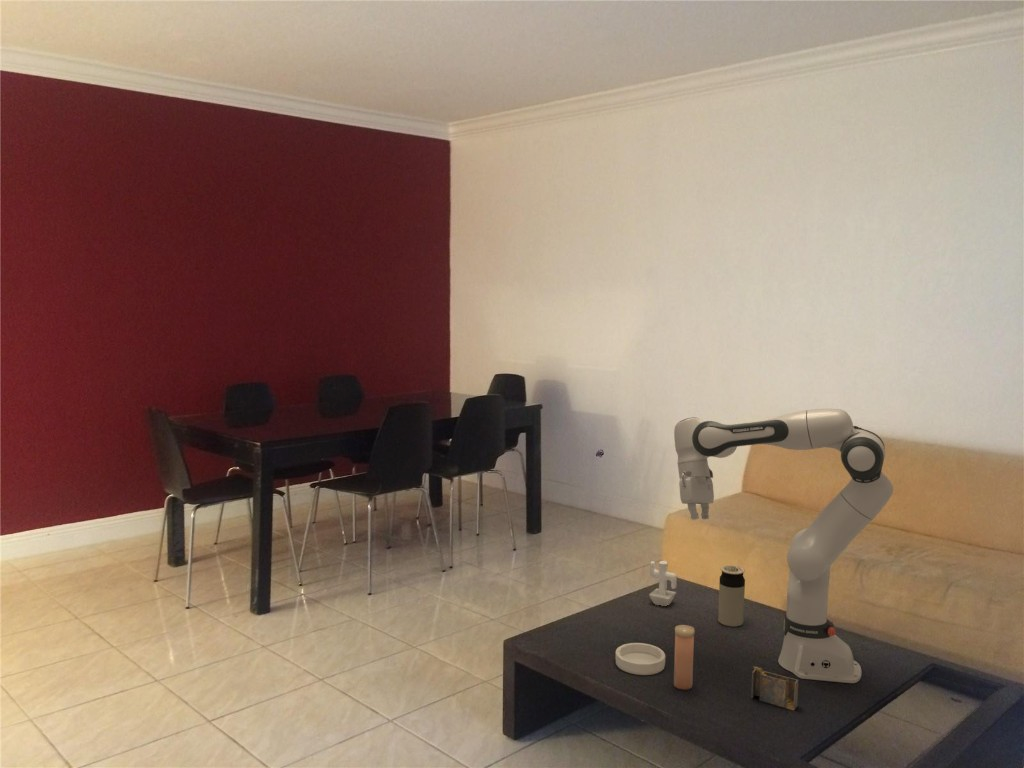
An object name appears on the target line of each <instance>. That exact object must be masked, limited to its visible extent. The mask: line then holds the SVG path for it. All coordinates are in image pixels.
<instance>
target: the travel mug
mask: <svg viewBox="0 0 1024 768" xmlns="http://www.w3.org/2000/svg"><path fill="white" fill-rule="evenodd" d="M720 570H721V575H720V576H719V583H718V584H719V586H718V587H719V588H718V612H717V613H718V615H717V616H718V618H717V621H718V623H720V624H722V625H723V626H727V627H733V628H736V627H739V626H742V625H743V624H744V618H745V617H744V615H745V614H744V613H745V612H744V610H745V594H746V593H745V590H746V589H745V588H746V579H745V577H744V573H745V569H744V568H743V567H741V566H739V565H738V566H736V565H728V564H727V565H723V566H721V567H720Z"/></svg>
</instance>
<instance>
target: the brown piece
mask: <svg viewBox="0 0 1024 768" xmlns="http://www.w3.org/2000/svg"><path fill="white" fill-rule="evenodd" d="M752 668H753V669H754V670H752V672H751V694H750V695H751V696H750V698H751V699H754V697H755V696H757V697H759V702H763V703H767V704H771V705H774V706H777V707H781V708H784V709H788V710H792V711H795V710H796V709H797V707H798V699H799V698H798V695H799V679H796V678H793V677H789V676H784V675H781V674H777V673H773V672H769V671H766V670H765V671H764V670H763V668H762V667H758V666H754V665H753V666H752Z"/></svg>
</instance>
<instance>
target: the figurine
mask: <svg viewBox="0 0 1024 768" xmlns="http://www.w3.org/2000/svg"><path fill="white" fill-rule="evenodd" d="M658 567H659V569H656V562H655V561H654V560H653V561H650V563H649V575H650V577H652V578H654V579H655V578H656V579H658V580H659V581H658V588H655V589H654V590H653V591H652V592H650V593H649V598H650V599H651V601H652V603H653V605H654V604H655V605H654V606H659V605H661V606H660V607H663V606H667V605H668V606H669V605H670V604H671V603H672V601H673V599H674V597H675V595H676V594H677V591H671V590H667V588H668V585H667V584H668V581H669V582H670V583H671V584H670V585H671V586H670V588H671V589H672V590H675V589H677V583H678V582H677V577H678V576H677V574H676V572H675V573H674V572H672V571H671V572H669V571H668V569H669V567H668V561H667V560H661V561H659V563H658ZM668 606H667V607H668Z"/></svg>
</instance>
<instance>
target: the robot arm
mask: <svg viewBox="0 0 1024 768" xmlns="http://www.w3.org/2000/svg"><path fill="white" fill-rule="evenodd" d="M673 431H674V432H673V433H674V434H673V435H674V447H675V452H676V455H677V468H678V477H679V483H678V485H679V495H680V496H679V497H680V501H681V503H682V504H684V505H685V504H687V508H688V511H689V513H690V518H691V520H698V519H699V512H698V511H697V505H700V508H701V514H700V516H701V519H702V520H708V519H709V518H710V516H709V510H710V505H711V504H713V503H714V500H715V499H714V498H715V494H714V483H713V480H712V479H713V478H714V472H713V471H712V470H711V468H710V466H709V463H708V458H709V457H713V458H719V459H721V458H727V457H730V456H731V455H733V454H734V453H735V451H736V450H737V447H745V446H755V445H768V446H769V445H771V446H775V447H779V448H783V449H785V450H795V451H800V450H801V451H804V450H805V451H807V450H808V451H809V450H814V449H815V450H816V449H822V448H823V449H824V448H828V449H829V448H831V449H834V450H836V451H839V453H840V460H841V463H842V465H843V467H844V468H845V470H846V472H847V473H848V474H849V476H850V477H851V479H850V481H849V482H848V483H847V484H846V485H845V486H844V487H843V488H842V489H841V490H840V491H839V492H838V494H837V495H835V497H833V499H831V501H829V503H828V504H827V505H826V506H825V507H824V508H823V509H822V510H821V511H820V513H818V515H817V516H816V517H815V518H814V519H813V521H812V522H811V523H810V524H809V525H808V527H806V528H802V529H801V530H799V531H798V532H797V533H796V534H795V535H794V536H793V538H792V540H791V542H790V546H789V549H788V551H787V553H786V554H787V555H786V561H787V564H788V565H787V566H788V568H789V573H788V582H787V589H786V591H787V593H786V595H787V596H786V611H785V612H786V613H785V615H784V618H783V635H784V636H783V643H782V647H781V651H780V654H779V657H778V659H777V660H778V661H777V662H778V664H779V665H780V666H781V667H782V668H783V669H785V670H787V671H788V672H791V673H792V674H794V675H795V676H796V677H797V678H799V679H802V680H803V679H804V680H814V681H823V682H825V681H826V682H835V683H836V682H837V683H846V684H856V683H858V682H859V681H860V680H861V678H862V668H861V665H860V664H859V663H858V662H857V661H856V660H854V655H853V652H852V650H851V647H850V646H849V644H848V643H846V642H844V641H843V639H841V638H840V637H839V636H838V635H836V628H835V624H834V621H833V620H831V621H830V620H829V619H828V606H829V605H828V604H829V603H828V600H829V587H830V577H831V576H830V574H831V567H832V565H833V564H834V563H835V562H836V560H838V558H839V557H840V556H841V555H842V554H843V552H844V551H845V550H846V548H847V547H848V546H849V545H850V544H851V542H853V540H854V539H855V538H856V537H857V536H858V535H859V534H860V533H861V532H862V531H863V530H864V529H865V528H866V527H867V526H868V525H869V524H870V523H871V522H872V521H873V520H874V519H875V518H876V517H877V516H879V515H878V514H880V512H882V510H883V509H884V508H885V506H886V505H887V504H888V502H889V501H890V499H891V497H892V496H893V495H894V486H893V484H892V481H891V480H890V479H889V477H887V475H885V474H884V473H883V472H882V469H883V465H884V461H885V458H886V448H885V443H884V441H883V440H882V438H881V436H879V435H878V434H876V433H874V432H873V431H870V430H868V429H864V428H862V427H859V426H856V425H854V424H853V420H852V418H851V416H850V414H849V413H848V412H847V411H846V410H843V409H841V408H816V409H815V408H814V409H807V410H806V409H805V410H801V411H795V412H791V413H788V414H785V415H781V416H777V417H773V418H771V419H765V420H762V421H761V420H760V421H755V422H754V421H752V422H744V423H737V424H736V423H734V424H725V423H721V422H718V421H712V420H706V421H705V420H702V419H700V418H699V417H697V416H696V417H695V416H693V417H688V418H685V419H682V420H679V422H677V423H676V424H675V425H674V430H673Z"/></svg>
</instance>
